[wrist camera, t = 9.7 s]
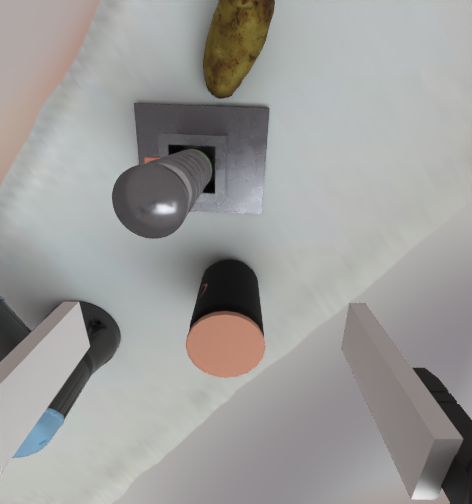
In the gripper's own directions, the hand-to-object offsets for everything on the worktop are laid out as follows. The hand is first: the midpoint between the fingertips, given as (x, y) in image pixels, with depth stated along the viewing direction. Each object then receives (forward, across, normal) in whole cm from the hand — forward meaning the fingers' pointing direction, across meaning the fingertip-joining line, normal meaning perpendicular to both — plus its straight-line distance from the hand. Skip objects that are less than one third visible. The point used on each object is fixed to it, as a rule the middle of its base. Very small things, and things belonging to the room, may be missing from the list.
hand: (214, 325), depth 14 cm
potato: (+37, 0, +20) cm, 42 cm away
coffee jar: (+37, -1, -18) cm, 41 cm away
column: (+30, -5, +4) cm, 30 cm away
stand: (+37, -5, +4) cm, 37 cm away
